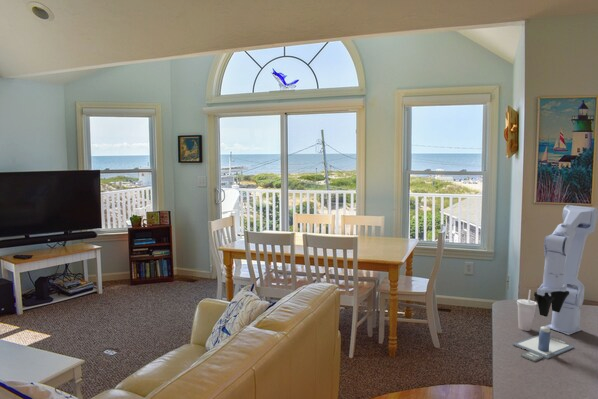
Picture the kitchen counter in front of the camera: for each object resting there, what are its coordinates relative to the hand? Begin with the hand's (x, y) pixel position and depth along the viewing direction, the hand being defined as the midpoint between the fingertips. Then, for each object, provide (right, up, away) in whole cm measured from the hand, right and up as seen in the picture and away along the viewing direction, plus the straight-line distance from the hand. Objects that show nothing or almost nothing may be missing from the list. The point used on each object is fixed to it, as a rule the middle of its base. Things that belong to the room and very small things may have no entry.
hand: (549, 313), depth 147 cm
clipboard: (-3, -10, -2) cm, 11 cm away
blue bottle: (-5, -10, -6) cm, 13 cm away
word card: (-11, -11, -10) cm, 18 cm away
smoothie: (-2, -9, +12) cm, 15 cm away
